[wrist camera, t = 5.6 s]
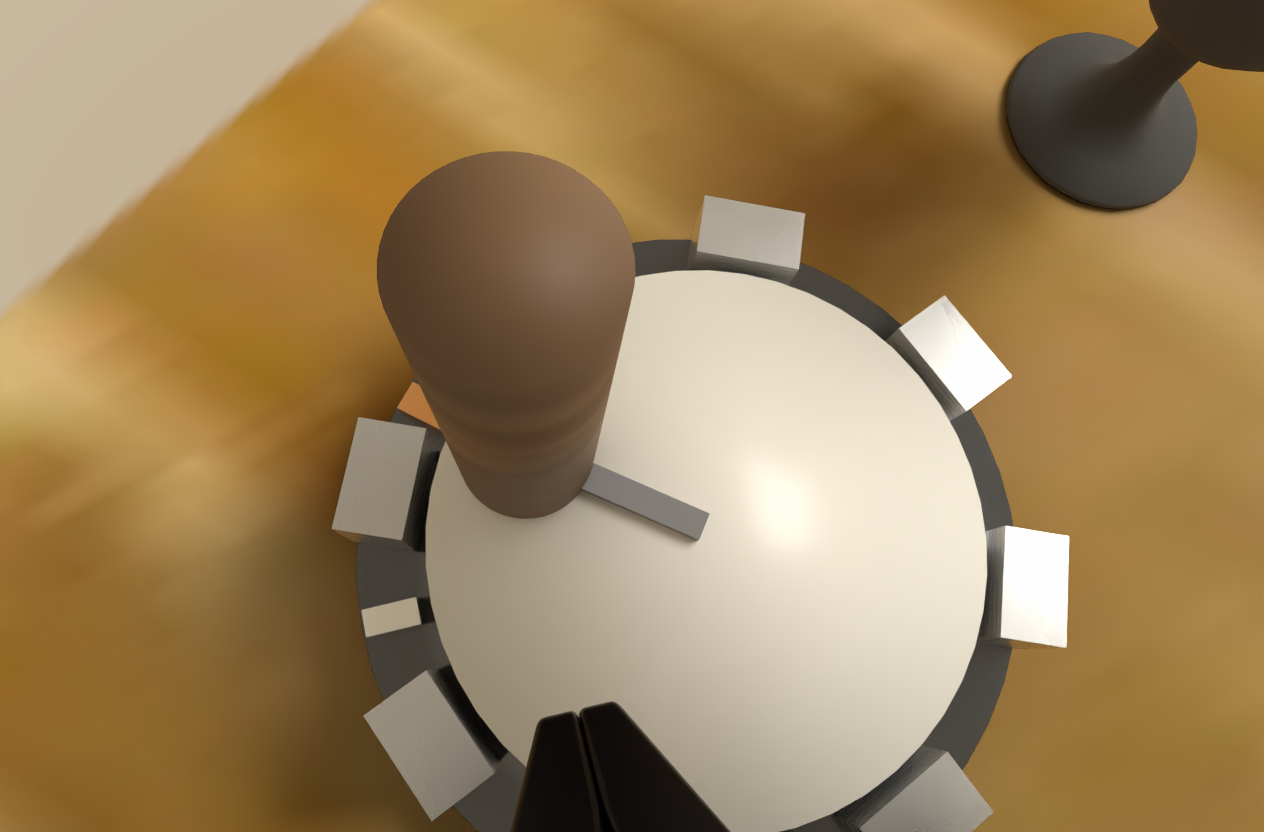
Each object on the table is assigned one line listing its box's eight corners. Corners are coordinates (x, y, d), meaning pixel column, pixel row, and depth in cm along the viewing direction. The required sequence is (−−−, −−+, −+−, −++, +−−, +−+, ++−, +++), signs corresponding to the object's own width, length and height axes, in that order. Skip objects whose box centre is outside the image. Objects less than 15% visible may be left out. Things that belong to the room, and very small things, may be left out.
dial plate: (1069, 789, 19) (1175, 816, 16) (437, 978, 17) (412, 1051, 14) (879, 221, 22) (936, 147, 19) (323, 329, 20) (281, 266, 17)
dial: (855, 916, 16) (1252, 1248, 7) (339, 687, 16) (78, 724, 7) (1012, 416, 19) (1447, 190, 10) (567, 225, 19) (584, -172, 10)
